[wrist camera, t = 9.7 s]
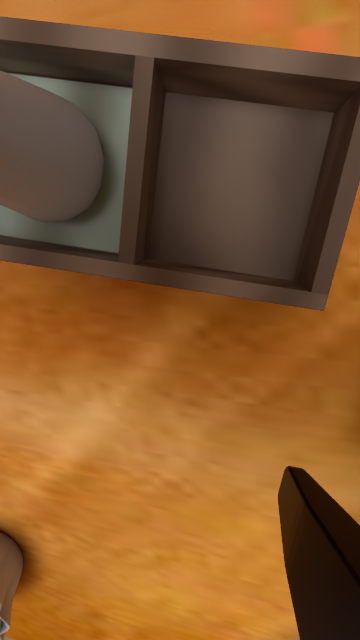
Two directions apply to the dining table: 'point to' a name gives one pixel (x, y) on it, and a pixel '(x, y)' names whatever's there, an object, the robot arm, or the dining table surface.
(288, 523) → the robot arm
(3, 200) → the salt shaker
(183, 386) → the dining table surface
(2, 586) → the cupcake
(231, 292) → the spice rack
